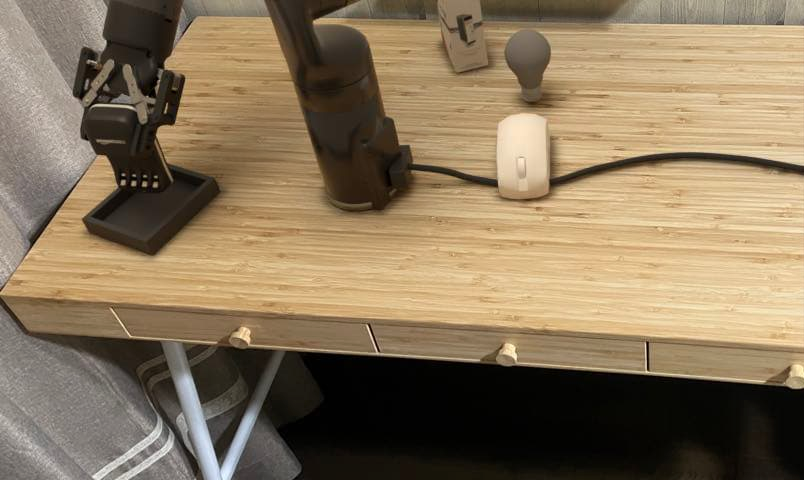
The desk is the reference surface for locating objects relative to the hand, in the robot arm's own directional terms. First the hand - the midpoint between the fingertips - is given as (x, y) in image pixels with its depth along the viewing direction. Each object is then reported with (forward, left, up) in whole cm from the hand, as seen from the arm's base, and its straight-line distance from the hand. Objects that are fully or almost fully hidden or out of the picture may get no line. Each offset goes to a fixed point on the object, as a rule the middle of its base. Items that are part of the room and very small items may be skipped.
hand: (114, 148), depth 117 cm
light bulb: (-33, -39, -11) cm, 53 cm away
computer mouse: (-39, -26, -11) cm, 48 cm away
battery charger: (0, -1, -7) cm, 7 cm away
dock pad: (0, -1, -11) cm, 11 cm away
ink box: (-19, -45, -11) cm, 50 cm away
